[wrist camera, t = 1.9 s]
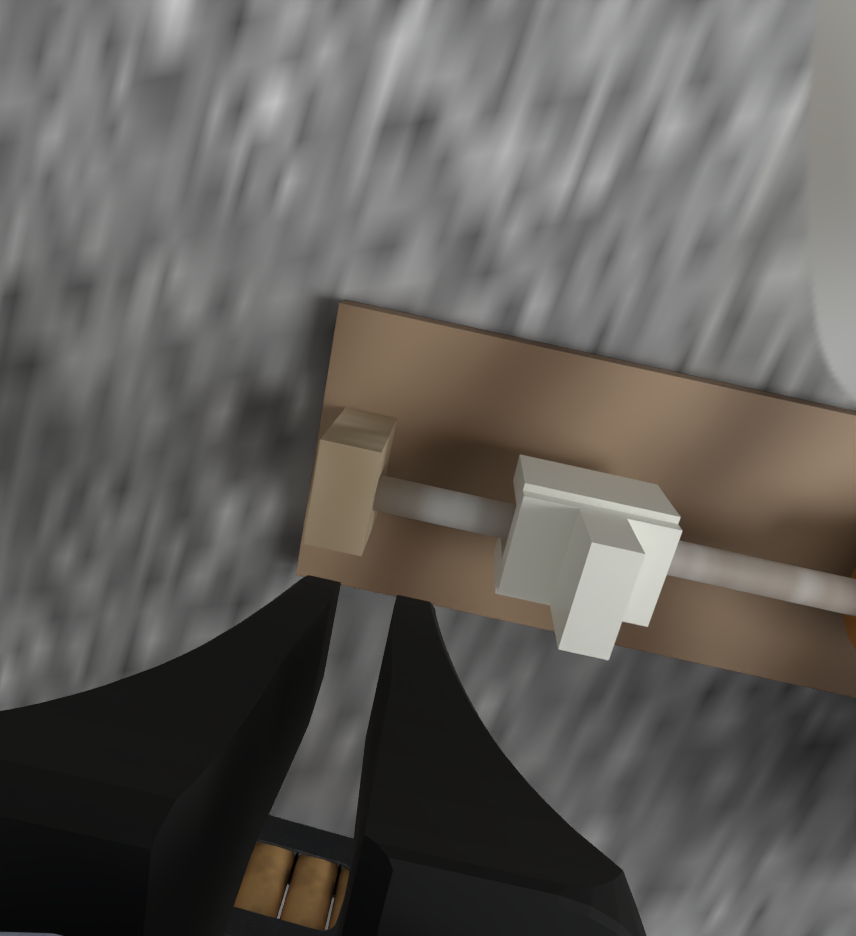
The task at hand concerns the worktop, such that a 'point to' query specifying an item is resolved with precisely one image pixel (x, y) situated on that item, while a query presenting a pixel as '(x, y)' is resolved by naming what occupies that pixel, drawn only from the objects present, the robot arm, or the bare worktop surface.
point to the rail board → (595, 448)
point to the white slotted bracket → (586, 550)
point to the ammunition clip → (292, 882)
